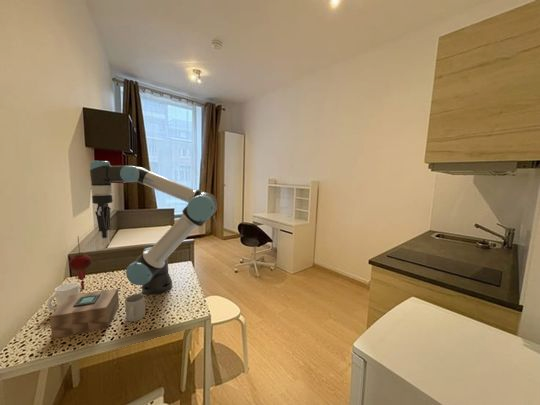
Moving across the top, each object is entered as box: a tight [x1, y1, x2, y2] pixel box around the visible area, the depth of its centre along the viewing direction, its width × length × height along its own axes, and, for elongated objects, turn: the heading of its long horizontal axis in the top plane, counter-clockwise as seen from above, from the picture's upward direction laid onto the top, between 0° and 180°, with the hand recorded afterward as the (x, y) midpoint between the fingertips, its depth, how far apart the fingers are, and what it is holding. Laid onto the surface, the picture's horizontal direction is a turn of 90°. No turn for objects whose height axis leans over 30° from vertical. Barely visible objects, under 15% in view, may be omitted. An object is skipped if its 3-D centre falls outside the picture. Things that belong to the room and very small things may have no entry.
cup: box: [124, 293, 146, 323], centre depth 97 cm, size 7×10×9 cm
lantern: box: [68, 237, 93, 290], centre depth 121 cm, size 10×10×30 cm
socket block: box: [49, 288, 120, 339], centre depth 96 cm, size 18×16×10 cm
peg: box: [79, 297, 95, 304], centre depth 95 cm, size 4×4×9 cm
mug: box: [46, 281, 81, 311], centre depth 104 cm, size 12×8×10 cm
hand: (106, 243), depth 107 cm, fingers closed
